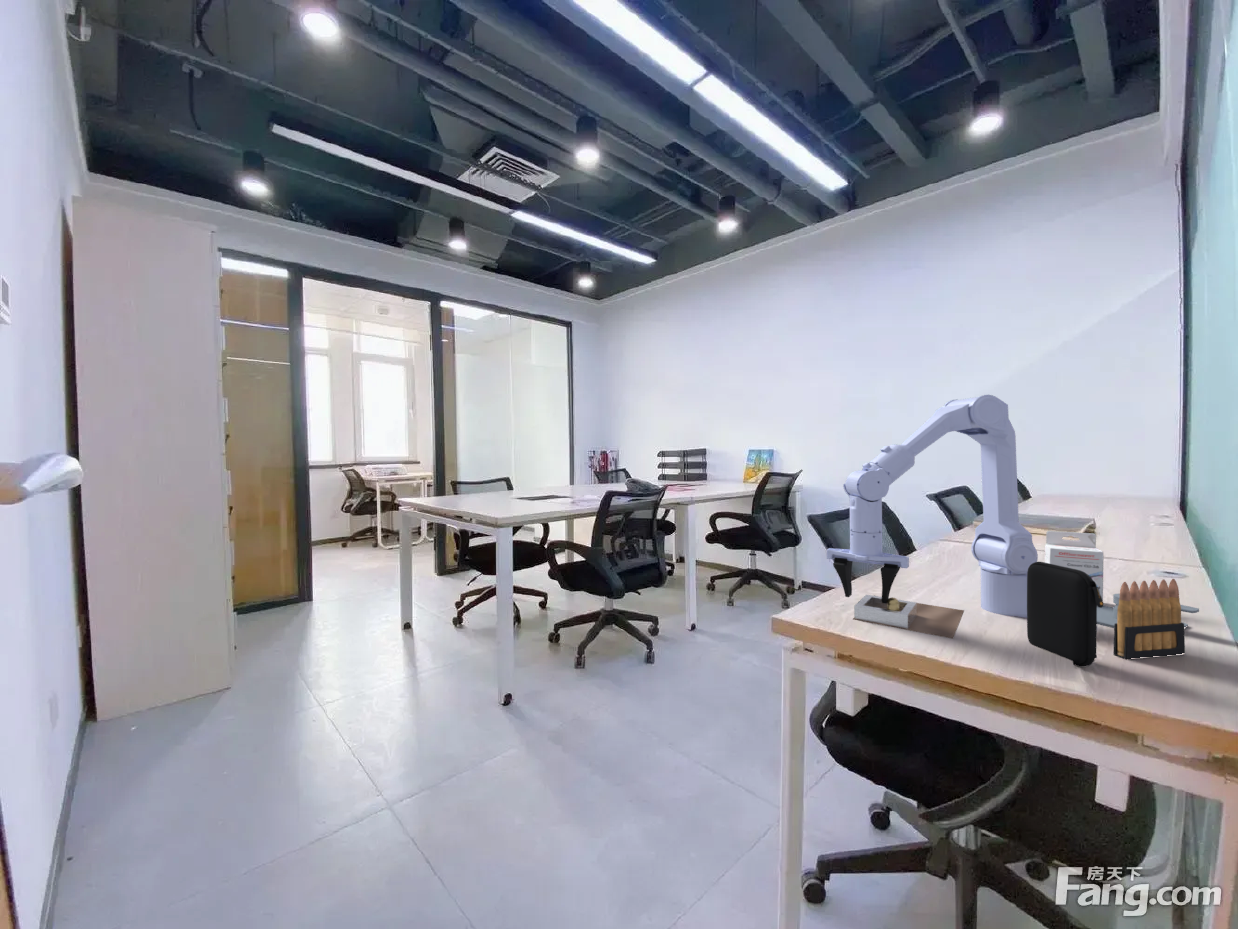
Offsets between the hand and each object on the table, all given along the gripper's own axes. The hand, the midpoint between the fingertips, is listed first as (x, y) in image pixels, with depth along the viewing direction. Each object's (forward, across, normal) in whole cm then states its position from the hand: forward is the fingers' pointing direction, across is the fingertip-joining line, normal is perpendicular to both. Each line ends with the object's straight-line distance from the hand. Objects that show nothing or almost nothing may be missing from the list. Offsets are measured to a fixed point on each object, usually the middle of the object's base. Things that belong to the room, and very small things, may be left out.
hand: (866, 598), depth 96 cm
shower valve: (+4, +40, +26) cm, 48 cm away
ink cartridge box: (+4, +32, +36) cm, 48 cm away
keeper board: (+4, +7, +4) cm, 9 cm away
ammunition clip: (+4, +39, +8) cm, 40 cm away
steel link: (+3, +3, 0) cm, 4 cm away
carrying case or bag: (+4, +29, -2) cm, 29 cm away
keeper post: (+3, +5, 0) cm, 6 cm away
